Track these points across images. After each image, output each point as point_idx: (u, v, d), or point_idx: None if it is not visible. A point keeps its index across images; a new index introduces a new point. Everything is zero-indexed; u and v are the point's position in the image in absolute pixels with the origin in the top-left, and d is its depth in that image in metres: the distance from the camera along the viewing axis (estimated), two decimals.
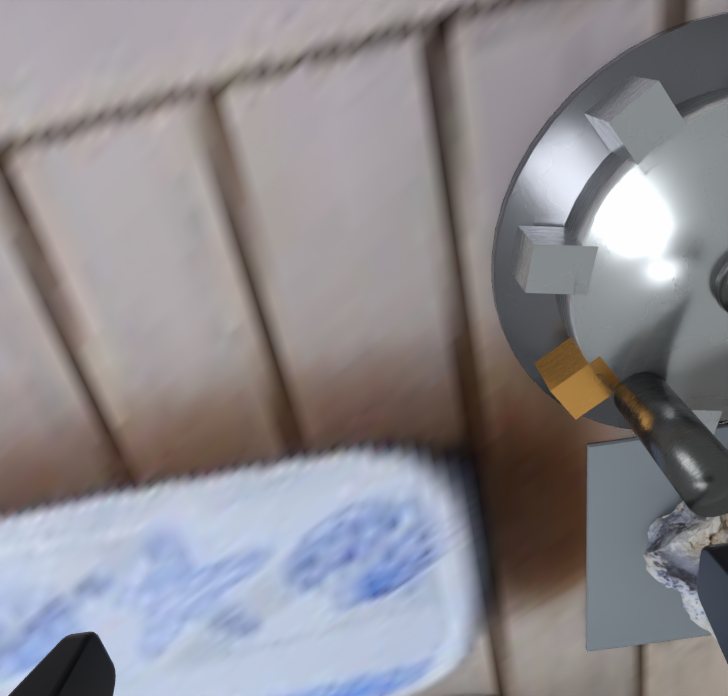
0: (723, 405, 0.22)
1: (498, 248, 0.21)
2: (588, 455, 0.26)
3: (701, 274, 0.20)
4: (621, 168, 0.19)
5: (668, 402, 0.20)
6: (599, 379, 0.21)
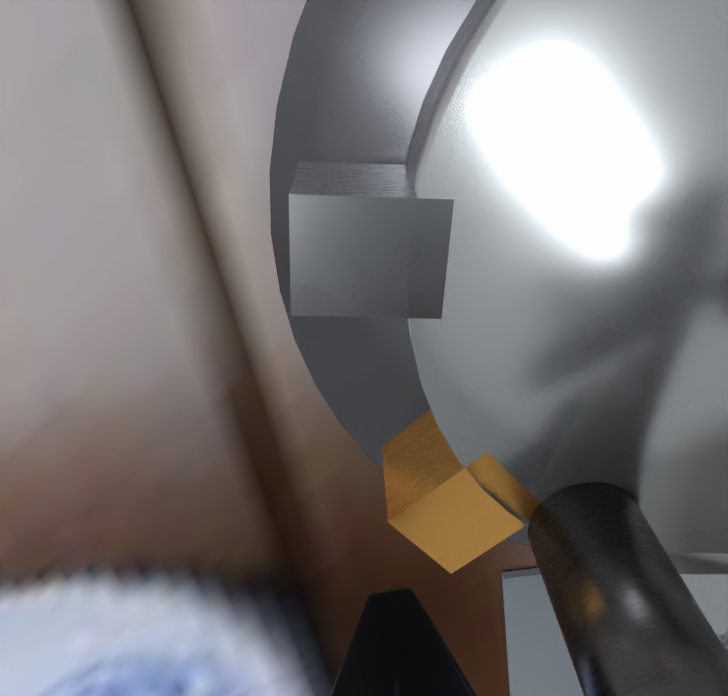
0: None
1: (274, 204, 0.10)
2: (504, 590, 0.15)
3: (716, 266, 0.08)
4: None
5: (634, 583, 0.08)
6: (492, 498, 0.10)
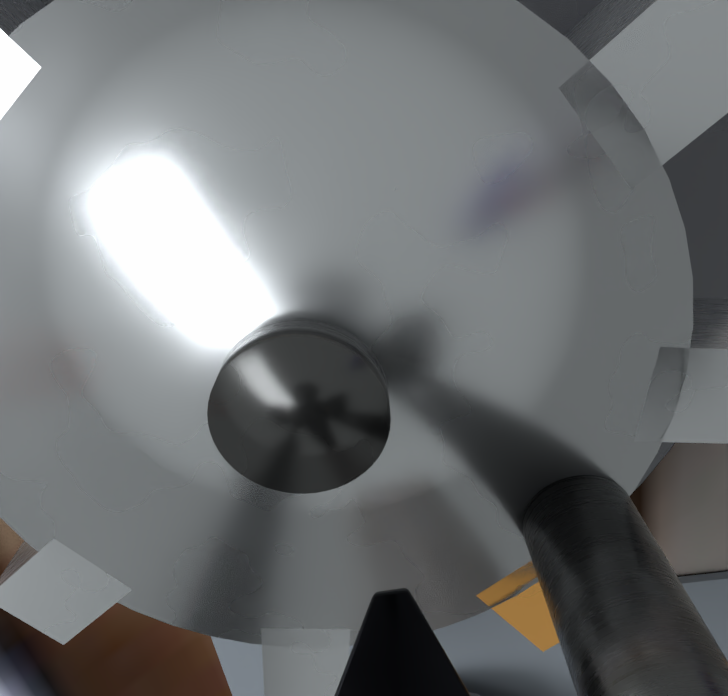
0: (644, 347, 0.09)
1: None
2: (216, 646, 0.15)
3: None
4: None
5: (556, 627, 0.08)
6: (528, 589, 0.11)
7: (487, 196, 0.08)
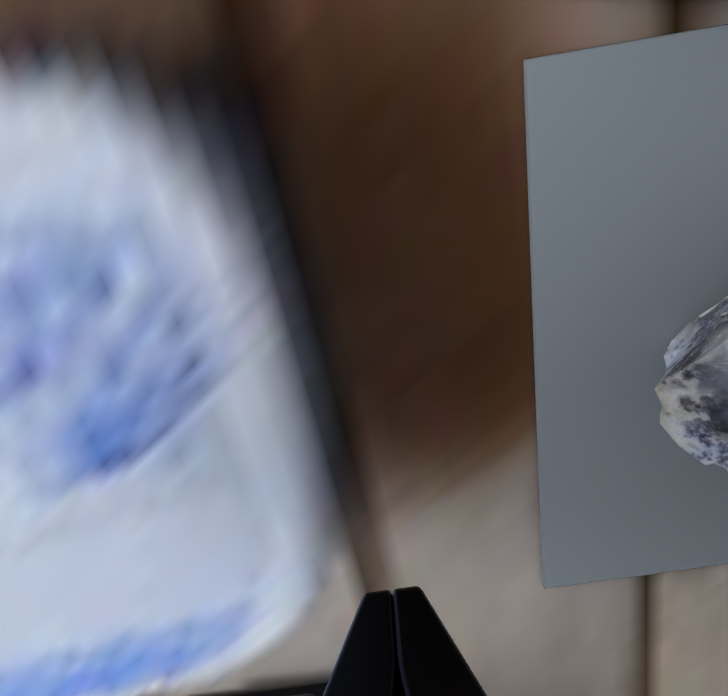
0: None
1: None
2: (526, 89, 0.11)
3: None
4: None
5: None
6: None
7: None
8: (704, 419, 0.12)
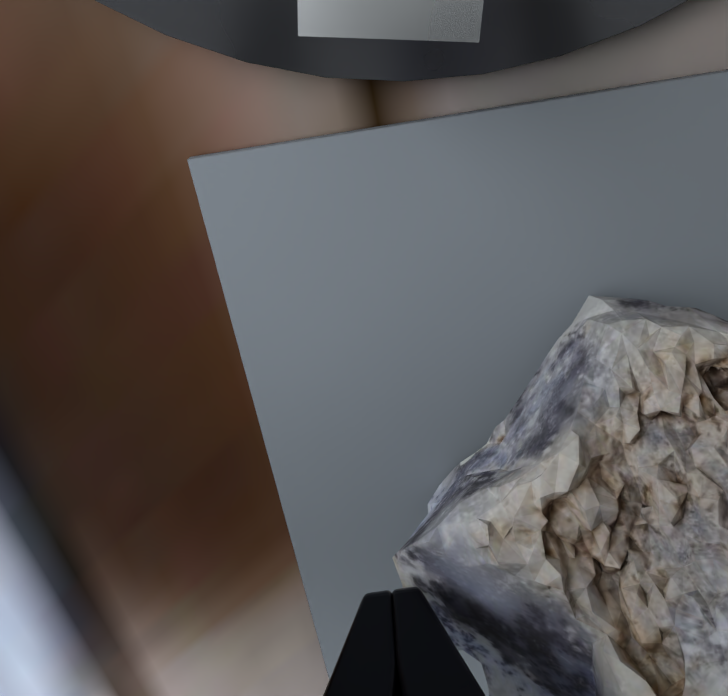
0: None
1: None
2: (198, 193, 0.09)
3: None
4: None
5: None
6: None
7: None
8: (440, 604, 0.09)
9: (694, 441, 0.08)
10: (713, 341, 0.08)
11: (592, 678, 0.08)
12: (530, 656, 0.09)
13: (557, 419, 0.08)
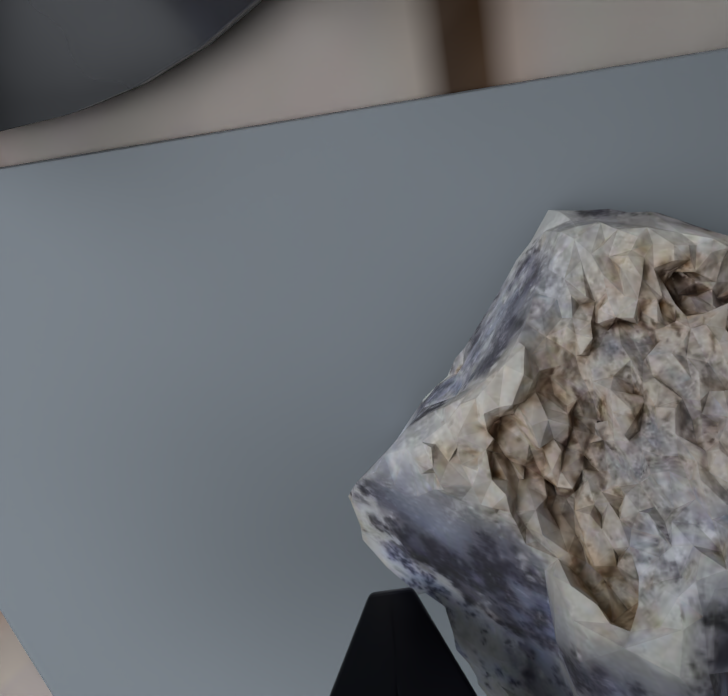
0: None
1: None
2: None
3: None
4: None
5: None
6: None
7: None
8: (398, 543, 0.09)
9: (651, 349, 0.07)
10: (674, 242, 0.07)
11: (550, 611, 0.08)
12: (488, 593, 0.08)
13: (507, 334, 0.08)
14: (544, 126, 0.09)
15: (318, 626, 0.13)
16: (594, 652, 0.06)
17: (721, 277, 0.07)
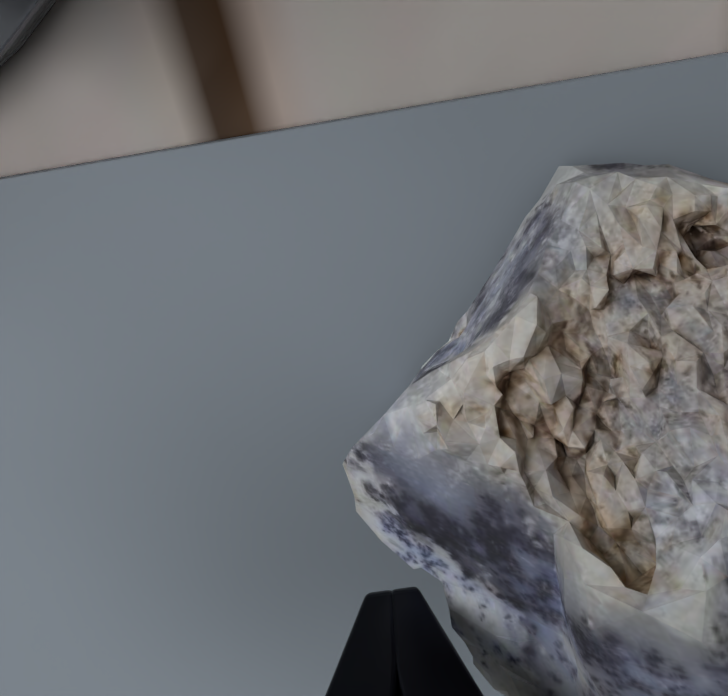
0: None
1: None
2: None
3: None
4: None
5: None
6: None
7: None
8: (394, 513, 0.09)
9: (671, 302, 0.07)
10: (694, 193, 0.07)
11: (556, 580, 0.07)
12: (490, 563, 0.08)
13: (517, 289, 0.07)
14: (316, 170, 0.09)
15: (170, 656, 0.13)
16: (608, 618, 0.06)
17: None
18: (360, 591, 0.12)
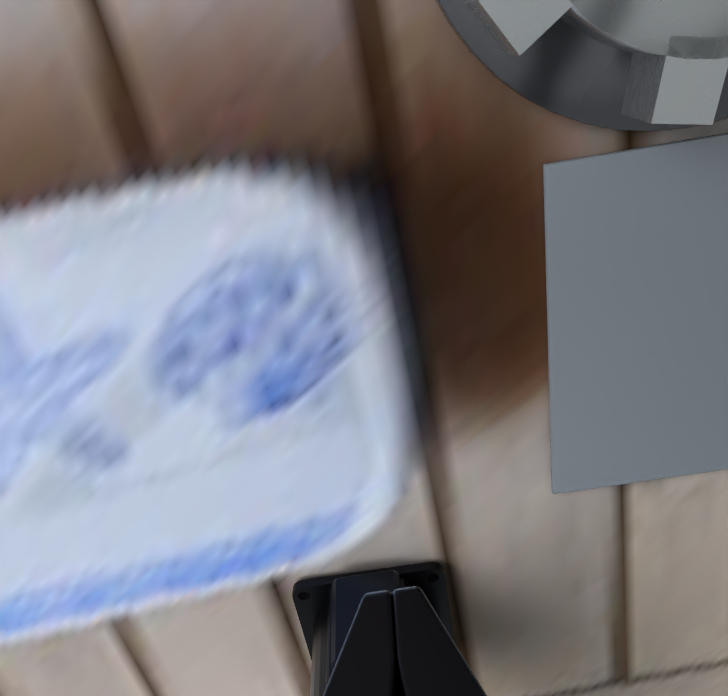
0: None
1: None
2: (545, 180, 0.19)
3: None
4: (572, 13, 0.15)
5: None
6: None
7: None
8: None
9: None
10: None
11: None
12: None
13: None
14: None
15: (720, 405, 0.23)
16: None
17: None
18: None
